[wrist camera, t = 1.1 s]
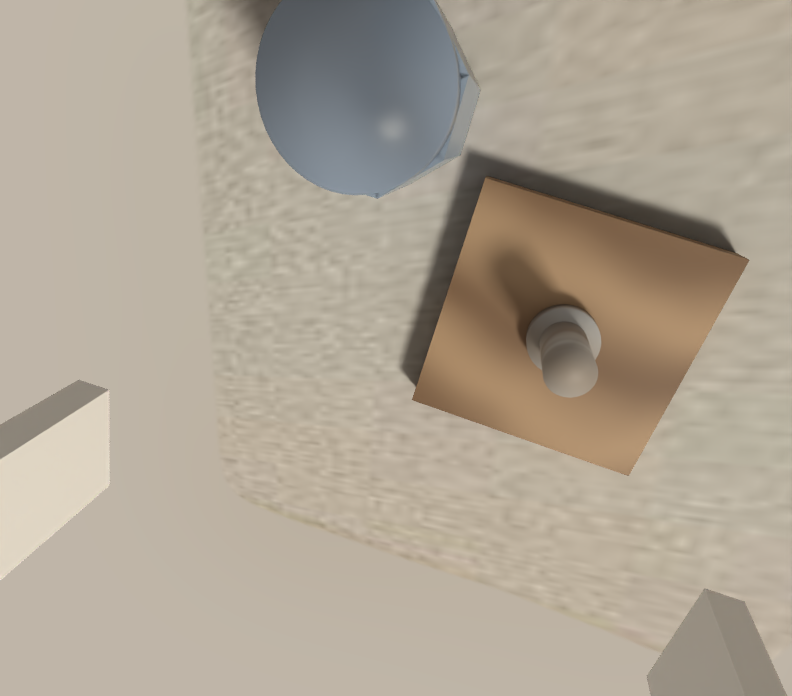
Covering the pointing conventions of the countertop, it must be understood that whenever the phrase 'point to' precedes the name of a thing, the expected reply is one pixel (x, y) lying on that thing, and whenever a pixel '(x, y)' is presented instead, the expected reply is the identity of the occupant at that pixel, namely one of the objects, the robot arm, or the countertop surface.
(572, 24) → the countertop surface
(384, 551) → the countertop surface
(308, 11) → the cap
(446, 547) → the countertop surface
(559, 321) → the brown wooden square board
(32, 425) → the robot arm
